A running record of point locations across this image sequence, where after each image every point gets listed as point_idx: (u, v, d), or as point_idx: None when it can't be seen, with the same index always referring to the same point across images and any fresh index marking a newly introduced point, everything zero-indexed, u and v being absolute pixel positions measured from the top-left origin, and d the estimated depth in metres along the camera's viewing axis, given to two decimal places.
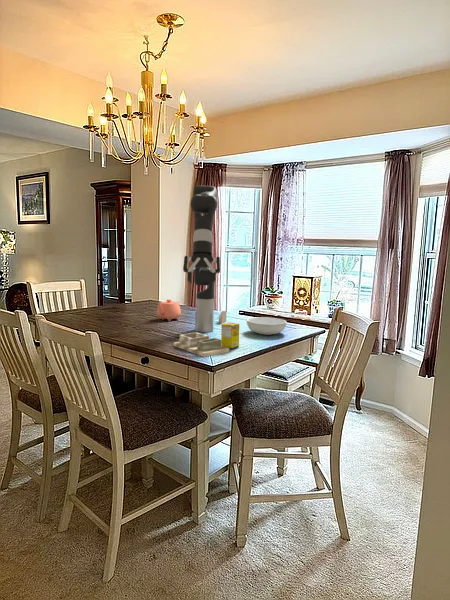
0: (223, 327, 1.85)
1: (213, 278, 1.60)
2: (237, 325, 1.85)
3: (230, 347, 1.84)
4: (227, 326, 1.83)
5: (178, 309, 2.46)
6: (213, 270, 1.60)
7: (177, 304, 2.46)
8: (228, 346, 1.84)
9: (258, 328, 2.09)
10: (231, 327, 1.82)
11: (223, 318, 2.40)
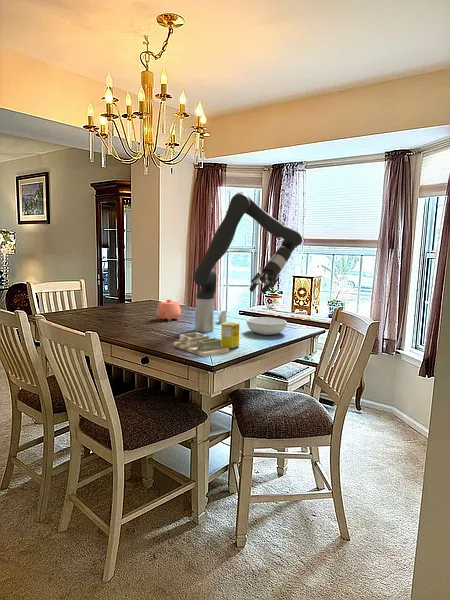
0: (223, 327, 1.85)
1: None
2: (237, 325, 1.85)
3: (230, 347, 1.84)
4: (227, 326, 1.83)
5: (178, 309, 2.46)
6: None
7: (177, 304, 2.46)
8: (228, 346, 1.84)
9: (258, 328, 2.09)
10: (231, 327, 1.82)
11: (223, 318, 2.40)
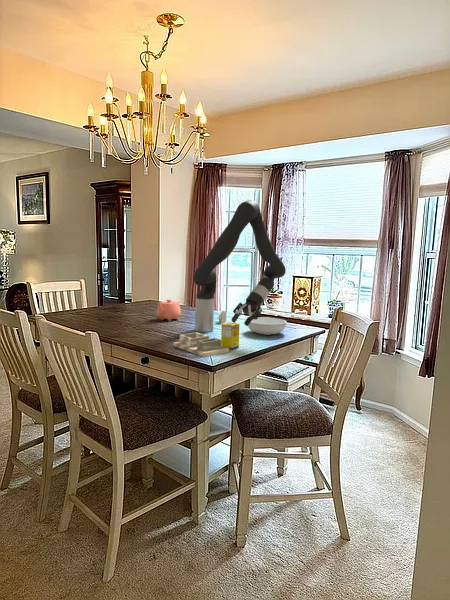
0: (223, 327, 1.85)
1: None
2: (237, 325, 1.85)
3: (230, 347, 1.84)
4: (227, 326, 1.83)
5: (178, 309, 2.46)
6: None
7: (177, 304, 2.46)
8: (228, 346, 1.84)
9: (258, 328, 2.09)
10: (231, 327, 1.82)
11: (223, 318, 2.40)
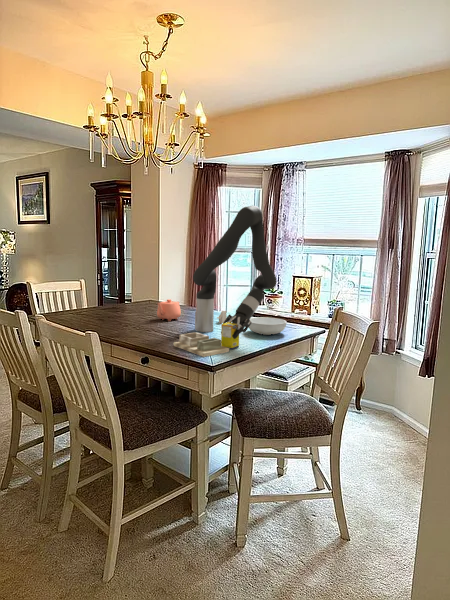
0: (223, 327, 1.85)
1: None
2: None
3: (230, 347, 1.84)
4: (227, 326, 1.83)
5: (178, 309, 2.46)
6: None
7: (177, 304, 2.46)
8: (228, 346, 1.84)
9: (258, 328, 2.09)
10: (231, 327, 1.82)
11: (223, 318, 2.40)
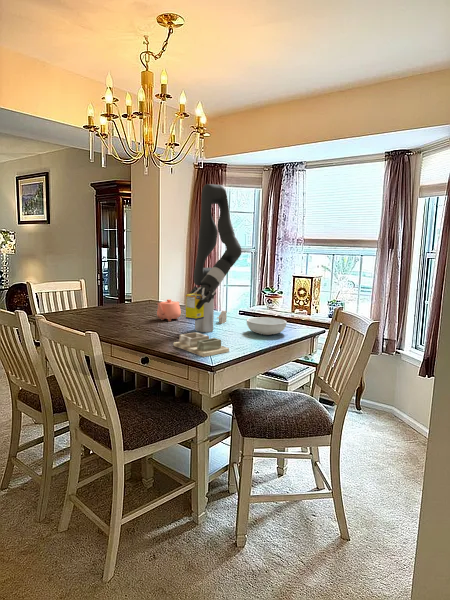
0: (187, 297, 1.83)
1: None
2: (201, 296, 1.84)
3: (194, 318, 1.82)
4: (191, 296, 1.82)
5: (178, 309, 2.46)
6: None
7: (177, 304, 2.46)
8: (192, 317, 1.83)
9: (258, 328, 2.09)
10: (195, 297, 1.81)
11: (223, 318, 2.40)
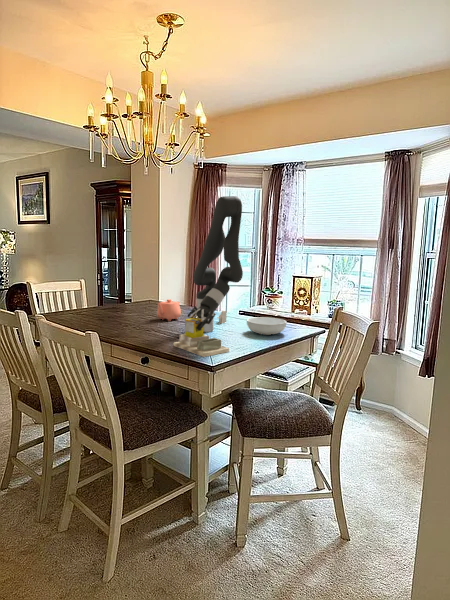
0: (186, 322, 1.85)
1: None
2: None
3: None
4: (190, 321, 1.84)
5: (178, 309, 2.46)
6: None
7: (177, 304, 2.46)
8: None
9: (258, 328, 2.09)
10: (194, 322, 1.83)
11: (223, 318, 2.40)
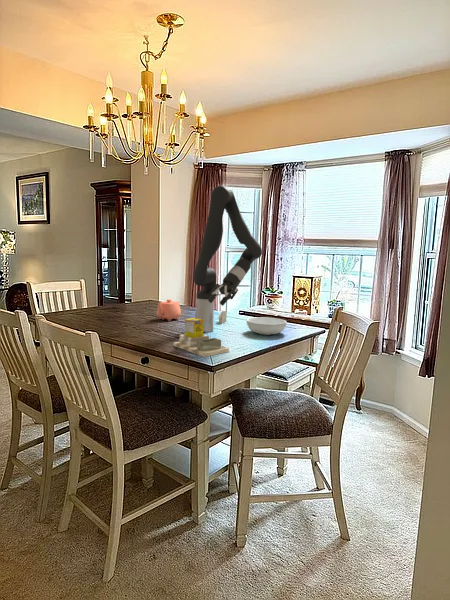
0: (186, 322, 1.85)
1: None
2: (201, 320, 1.86)
3: None
4: (190, 321, 1.84)
5: (178, 309, 2.46)
6: None
7: (177, 304, 2.46)
8: None
9: (258, 327, 2.09)
10: (194, 322, 1.83)
11: (223, 318, 2.40)
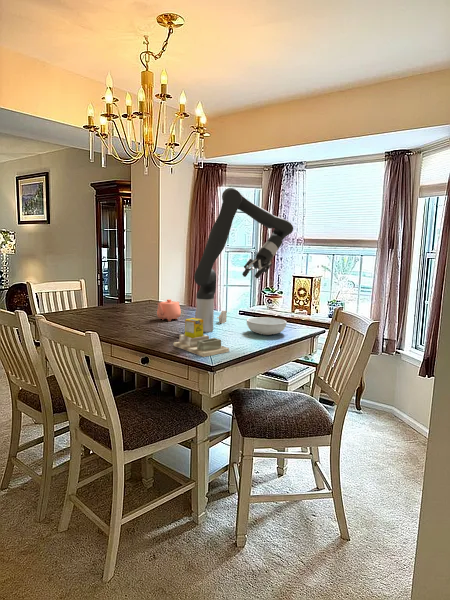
0: (186, 322, 1.85)
1: None
2: (201, 320, 1.86)
3: None
4: (190, 321, 1.84)
5: (178, 309, 2.46)
6: None
7: (177, 304, 2.46)
8: None
9: (258, 328, 2.09)
10: (194, 322, 1.83)
11: (223, 318, 2.40)
